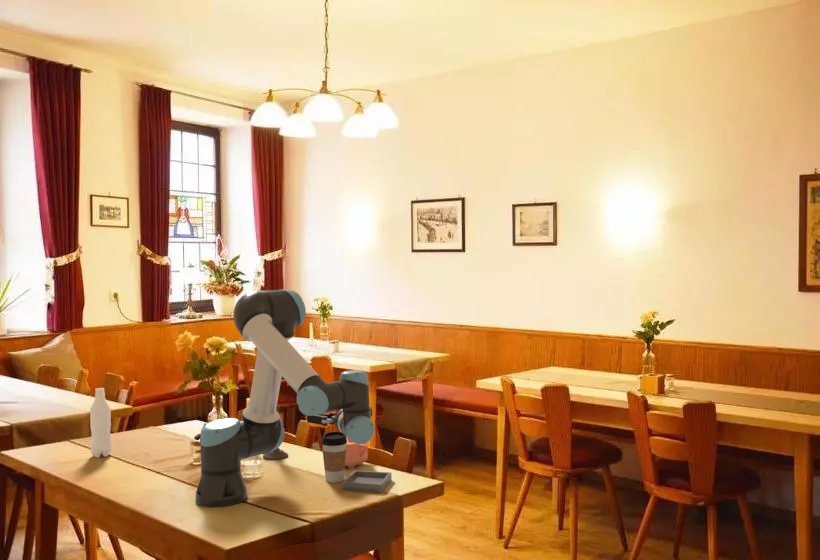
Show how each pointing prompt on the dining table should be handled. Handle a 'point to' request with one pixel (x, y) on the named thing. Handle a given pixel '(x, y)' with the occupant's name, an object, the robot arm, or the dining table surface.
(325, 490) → the dining table surface
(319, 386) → the robot arm
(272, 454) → the candlestick holder
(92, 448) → the water bottle
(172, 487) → the dining table surface
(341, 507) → the dining table surface
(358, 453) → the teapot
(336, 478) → the coffee cup
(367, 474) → the tray
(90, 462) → the dining table surface
